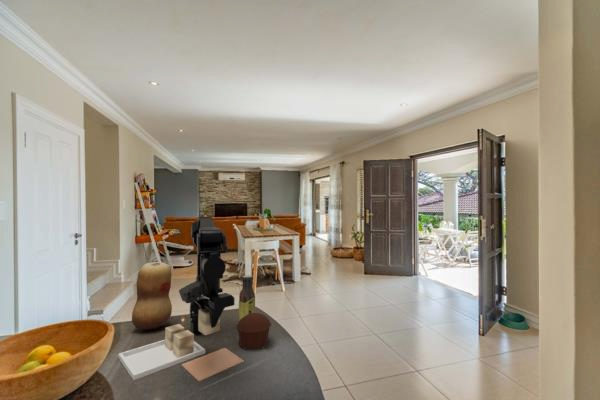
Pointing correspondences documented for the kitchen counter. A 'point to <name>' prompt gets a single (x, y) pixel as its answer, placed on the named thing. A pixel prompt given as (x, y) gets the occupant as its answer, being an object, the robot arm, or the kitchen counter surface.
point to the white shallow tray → (153, 358)
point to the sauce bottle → (246, 297)
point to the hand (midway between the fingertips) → (209, 324)
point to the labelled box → (206, 322)
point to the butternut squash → (152, 296)
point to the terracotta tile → (212, 364)
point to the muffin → (253, 331)
